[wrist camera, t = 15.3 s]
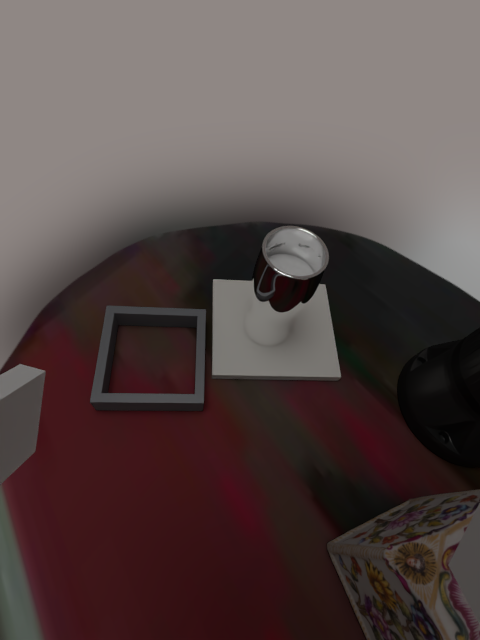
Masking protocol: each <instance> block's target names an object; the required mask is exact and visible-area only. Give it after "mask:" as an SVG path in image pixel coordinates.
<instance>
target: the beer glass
mask: <svg viewBox="0 0 480 640" xmlns="http://www.w3.org/2000/svg"><path fill="white" fill-rule="evenodd" d="M328 260H329V254H328V250H327V247H326V245H325V244H324V242H323V241H322V240H321V239H320V238H319V237H318V236H317V235H316V234H314V233H313V232H311V231H309V230H307V229H304V228H301V227H297V226H283V227H279V228H276V229H274V230H272V231H271V232H270V233H268V235H267V236H266V237H265V239H264V241H263V244H262V247H261V250H260V252H259V255H258V258H257V261H256V264H255V267H254V271H253V276H252V307H251V309H250V310H249V311H248V313H247V315H246V317H245V321H244V326H245V330H246V333H247V334H248V336H249V337H250V338H251V339H252V340H253V341H254V342H256V343H258V344H260V345H263V346H276V345H279V344H281V343H282V342H284V341H285V340H286V338H287V337H288V335H289V333H290V329H291V322H292V320H293V319H294V318H295V317H296V316H297V315H298V314H299V313H300V312H301V311H302V310H303V309H304V308H305V306H306V305H307V304H308V303H309V302H310V300H311V299H312V297H313V295H314V294H315V292H316V290H317V288H318V286H319V284H320V281H321V279H322V276H323V273H324V271H325V268H326V266H327V264H328Z"/></svg>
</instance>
